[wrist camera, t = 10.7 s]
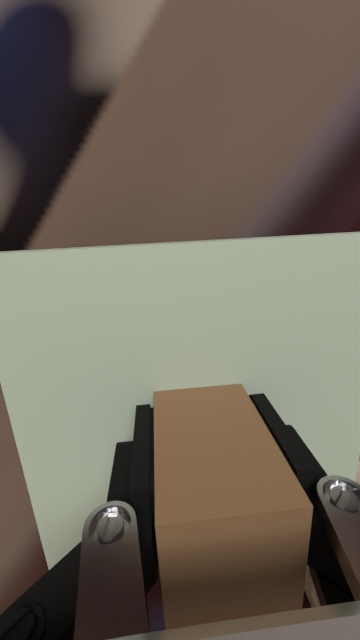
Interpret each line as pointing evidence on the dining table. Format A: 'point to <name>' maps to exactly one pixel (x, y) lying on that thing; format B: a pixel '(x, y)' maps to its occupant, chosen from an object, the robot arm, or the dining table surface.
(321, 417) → the lid
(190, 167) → the dining table surface
